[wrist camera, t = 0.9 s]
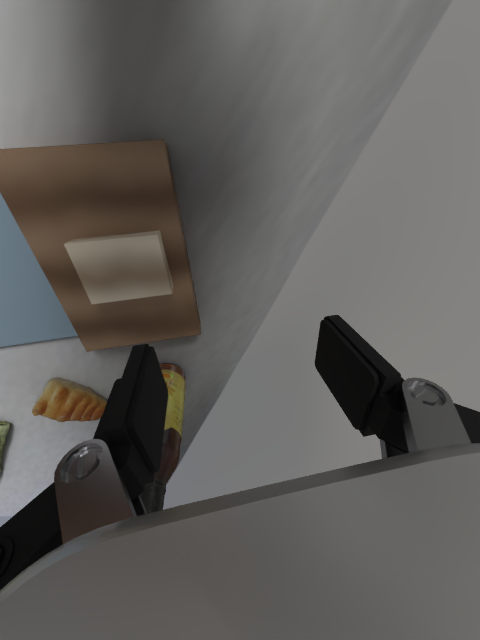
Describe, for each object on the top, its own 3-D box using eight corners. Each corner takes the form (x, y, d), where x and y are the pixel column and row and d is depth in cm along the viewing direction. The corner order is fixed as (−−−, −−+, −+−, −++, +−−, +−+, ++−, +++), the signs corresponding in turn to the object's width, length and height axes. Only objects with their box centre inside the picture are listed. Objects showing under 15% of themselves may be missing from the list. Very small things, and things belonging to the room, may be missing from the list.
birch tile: (73, 239, 22) (63, 244, 20) (159, 230, 23) (157, 234, 21) (98, 295, 25) (91, 304, 23) (173, 286, 26) (171, 293, 24)
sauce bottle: (167, 354, 34) (143, 520, 18) (193, 377, 38) (194, 536, 21) (133, 375, 35) (80, 552, 19) (162, 396, 39) (138, 562, 22)
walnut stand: (4, 153, 20) (-23, 150, 18) (166, 144, 22) (163, 139, 19) (95, 337, 31) (86, 351, 28) (200, 322, 32) (200, 334, 30)
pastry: (118, 392, 37) (111, 412, 34) (102, 416, 39) (93, 438, 36) (50, 372, 33) (35, 393, 30) (37, 401, 35) (21, 423, 32)
